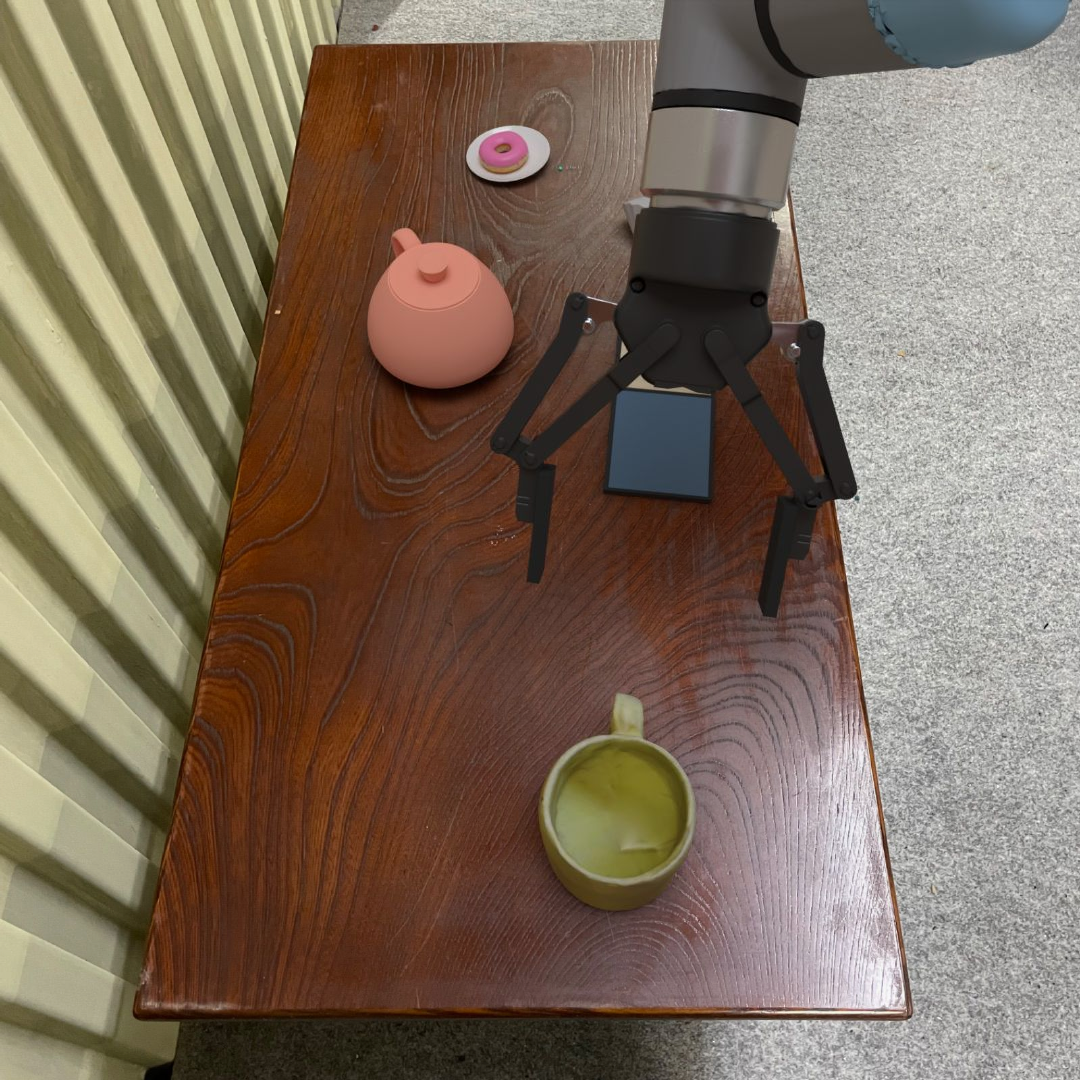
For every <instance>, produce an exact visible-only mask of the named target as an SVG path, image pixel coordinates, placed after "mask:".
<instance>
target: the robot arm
mask: <svg viewBox="0 0 1080 1080" xmlns="http://www.w3.org/2000/svg"><path fill="white" fill-rule="evenodd" d="M1072 2H1073V0H664V2H663V11H662V18H661V27H660V34H659V42H658V51H657V56H656V65H655V66H656V67H655V75H654V80H653V81H654V83H653V90H652V102H651V108H650V112H649V115H648V123H647V130H646V138H645V145H644V146H645V147H644V153H643V159H642V160H643V161H642V168H641V175H640V183H639V189H638V190H639V192H640V193H641V194H642V196H644V197H647V198H650V203H649V208H642V209H641V211H640V214H636V220H635V227H634V235H633V234H632V244H631V249H630V250H631V251H630V257H629V258H630V259H629V264H628V265H629V266H628V274H627V281H626V285H625V290H624V293H623V295H622V297H621V299H619V301H618V302H614V301H610V300H606V299H601V298H598V297H593V296H590V295H588V293H586V292H585V291H583V290H577V291H574V292H572V293H570V294H568V296H567V297H566V299H565V302H564V307H563V312H562V315H561V319H560V324H559V329H558V333H557V334H556V336H555V337H554V338H553V340H552V342H551V344H550V345H549V346H548V348H547V350H546V351H545V353H544V354H543V356H542V357H541V359H540V361H539V362H538V364H537V365H536V367H535V368H534V370H533V371H532V373H531V374H530V376H529V378H528V379H527V381H526V382H525V384H524V385H523V387H522V389H521V390H520V391H519V394H518V395H517V397H516V398H515V399H514V401H513V402H512V404H511V406H510V408H509V409H508V411H507V412H506V413H505V415H504V416H503V419H502V420H501V422H500V423H499V425H498V426H497V427H496V429H495V431H494V433H493V434H492V436H490V440H489V447H490V449H491V451H492V452H494V453H495V454H497V455H504V456H505V457H507V458H509V459H511V460H513V461H514V462H515V463H516V465H517V467H518V482H517V491H516V499H515V510H514V513H515V517H516V520H517V522H521V523H528V524H532V527H531V528H532V530H531V537H530V547H529V556H528V564H527V573H526V581H525V582H526V583H529V584H537V585H539V584H540V583H541V580H542V577H543V574H544V571H545V567H546V558H547V557H546V556H547V549H548V541H549V540H548V539H549V534H550V533H549V531H550V525H551V515H552V509H553V498H554V493H555V483H556V475H557V468H558V467H557V466H558V464H553V463H547V462H546V463H545V461H546V460H548V459H549V458H550V457H551V456H552V455H553V454H554V453H555V452H556V451H558V449H560V448H561V447H562V446H563V445H564V444H565V443H566V442H567V441H568V440H569V439H571V438H572V437H573V436H574V435H575V434H576V433H577V432H578V431H579V430H581V429H582V428H583V427H584V426H585V425H586V424H587V423H589V421H591V420H592V418H594V417H595V416H596V415H597V414H598V413H599V412H601V410H603V409H604V408H605V407H606V406H607V405H608V404H610V402H612V399H613V398H615V397H616V396H617V395H618V394H619V393H620V392H621V391H623V390H624V389H625V388H626V387H628V386H629V385H630V384H631V383H632V382H633V381H634V380H635V379H636V378H638V377H639V376H640V375H641V377H642V378H643V379H644V380H645V381H646V382H648V383H649V384H651V385H654V387H655V388H663V389H672V388H679V387H684V388H687V389H689V390H692V391H694V392H696V393H703V394H711V393H713V392H716V393H717V392H719V391H722V390H724V389H726V387H728V388H729V389H730V390H731V392H732V394H733V395H734V397H735V398H736V400H737V401H738V404H739V405H740V406H741V408H742V410H743V411H744V413H745V415H746V416H747V418H748V420H749V421H750V423H751V424H752V426H753V428H754V429H755V431H756V432H757V434H758V436H759V438H760V439H761V441H762V442H763V445H764V446H765V448H766V449H767V450H768V452H769V454H770V455H771V457H772V459H773V460H774V462H775V464H776V465H777V467H778V468H779V470H780V472H781V473H782V475H783V476H784V479H785V480H786V481H787V483H788V485H789V486H790V488H791V490H792V495H785V494H784V495H783V494H777V498H776V503H775V508H774V514H773V519H772V524H771V530H770V534H769V540H768V545H767V550H766V555H765V561H764V565H763V571H762V576H761V582H760V587H759V591H758V598H757V602H758V605H759V608H760V611H761V614H762V616H763V617H767V618H772V619H777V617H778V613H779V607H780V604H781V603H780V602H781V598H782V592H783V587H784V582H785V577H786V572H787V567H788V562H789V560H795V561H796V560H797V561H802V562H803V561H804V560H805V559H806V557H807V556H808V554H809V552H810V547H811V541H812V538H813V532H814V528H815V523H816V518H817V513H818V511H819V510H820V508H822V507H823V505H824V504H826V503H827V502H832V501H837V500H842V501H849V500H851V499H854V498H855V497H856V495H857V494H858V483H857V480H856V476H855V473H854V470H853V466H852V462H851V459H850V455H849V452H848V448H847V445H846V441H845V438H844V435H843V431H842V428H841V424H840V420H839V417H838V414H837V410H836V407H835V403H834V399H833V396H832V393H831V389H830V386H829V381H828V379H827V375H826V371H825V368H824V356H825V355H824V354H825V353H824V352H825V342H826V341H825V340H826V327H825V326H824V324H823V323H822V322H820V321H819V320H816V319H813V318H808V317H806V318H802V319H800V320H799V321H772V319H771V317H770V314H769V299H770V294H771V293H770V291H771V287H772V280H773V275H774V269H775V264H776V258H777V253H778V247H779V243H780V242H779V241H780V236H781V231H782V230H781V229H780V228H778V223H777V222H776V221H775V222H774V221H773V217H772V214H773V213H774V212H779V211H780V210H782V209H783V208H784V207H786V203H787V199H788V191H789V186H790V179H791V175H792V167H793V162H794V155H795V150H796V144H797V138H798V133H799V127H800V123H801V117H802V111H803V105H804V102H805V101H804V100H805V96H806V90H807V86H808V81H809V80H813V79H824V78H830V77H831V78H832V77H841V76H851V75H862V74H863V75H864V74H873V73H885V72H893V71H905V70H915V69H925V68H926V69H927V68H928V69H931V70H941V69H943V68H947V69H958V68H963V67H968V66H972V65H973V64H974V63H976V62H978V61H983V60H988V59H992V58H997V57H1002V56H1008V55H1014V54H1018V53H1022V52H1023V51H1026V50H1029V49H1032V48H1033V47H1035V46H1037V45H1039V44H1040V43H1042V42H1043V41H1045V40H1046V39H1047V38H1049V37H1050V36H1051V35H1052V34H1053V33H1054V32H1055V31H1056V30H1057V29H1058V28H1059V27H1060V26H1061V25H1062V24H1063V23H1064V22H1065V19H1066V17H1067V14H1068V11H1069V6H1070V3H1072ZM608 322H609V323H613V326H614V328H615V330H616V332H617V335H618V334H619V336H620V338H621V340H622V342H623V343H624V345H625V347H626V349H627V351H628V352H627V353H626V354H625V355H624V356H622V357H621V358H620V359H619V360H618V361H617V362H616V363H615V362H614V363H613V365H612V366H610V367H609V368H608V369H607V371H605V373H603V374H602V375H601V376H600V377H599V378H598V379H597V380H596V381H595V382H594V383H593V384H591V385H590V386H589V387H588V388H587V389H586V390H585V391H584V392H583V393H582V394H581V395H579V396H578V397H577V398H576V399H575V400H574V401H573V402H572V403H571V404H569V406H567V408H565V409H564V410H563V411H562V412H561V413H560V414H559V415H558V416H557V417H555V418H554V420H552V421H551V422H550V423H549V424H548V425H547V426H546V427H544V428H543V430H542V431H541V432H539V434H537V435H535V437H534V438H533V439H531V438H529V437H527V436H525V435H523V434H522V432H523V431H524V429H525V427H527V424H528V423H529V422H530V420H531V418H532V417H533V415H534V414H535V412H536V411H537V409H538V408H539V406H540V405H541V403H542V402H543V400H544V398H545V397H546V395H547V394H548V393H549V391H550V389H551V387H552V386H553V384H554V383H555V382H556V380H557V378H558V377H559V375H560V374H561V373H562V370H563V369H564V367H565V366H566V364H567V363H568V362H569V360H570V358H571V356H572V355H573V354H574V352H575V350H576V349H577V348H578V345H580V342H581V340H582V337H592V336H594V335H595V334H596V333H598V331H599V329H600V328H601V326H602V325H603V324H605V323H608ZM770 342H772V343H775V344H777V345H778V347H779V351H780V355H781V356H782V357H783V358H784V359H785V360H786V361H788V362H790V363H793V370H794V371H793V372H794V374H795V375H794V376H795V378H796V381H797V385H798V389H799V392H800V395H801V399H802V402H803V406H804V409H805V413H806V417H807V420H808V422H809V426H810V430H811V433H812V437H813V439H814V443H815V447H816V450H817V454H818V456H819V461H820V463H821V467H822V471H823V474H819V475H814V476H812V474H811V472H810V471H809V470H808V468H807V466H806V464H805V463H804V461H803V460H802V458H801V456H800V454H799V453H798V451H797V449H796V448H795V446H794V445H793V443H792V441H791V440H790V438H789V436H788V435H787V433H786V432H785V430H784V428H783V427H782V425H781V423H780V422H779V420H778V418H777V417H776V415H775V414H774V412H773V410H772V409H771V407H770V405H769V404H768V402H767V401H766V399H765V397H764V395H763V394H762V392H761V390H760V389H759V387H758V385H757V384H756V382H755V380H754V378H753V377H752V375H751V373H750V372H749V370H748V369H747V367H749V365H750V364H751V363H752V362H753V361H754V360H755V359H756V358H757V357H758V356H759V355H760V354H761V353H762V352H763V351H764V349H766V347H768V345H769V344H770Z"/></svg>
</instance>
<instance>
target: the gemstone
mask: <svg viewBox="0 0 1080 1080" xmlns="http://www.w3.org/2000/svg"><path fill="white" fill-rule="evenodd" d="M649 203H650V198H647V197H644V195H642V196H639V197H637V198H634V199H631V200H628V201H626V202H623V203H622V205H621V206H622V209H623V212H624V214H625V216H626V220H627V222H628V225H629V228H630V230H631V233H632V236H633V235H634V227H635V220H636V214H640V211H641V209H642V208H649Z"/></svg>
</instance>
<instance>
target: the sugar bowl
mask: <svg viewBox="0 0 1080 1080" xmlns="http://www.w3.org/2000/svg"><path fill="white" fill-rule="evenodd" d="M391 245H392V249H393V253H394V255H395V259H394V260H393V261H392V262H391V263H390V264H389V266H388V267H387V268H386V269H385V271H384V272H383V274H382V275H381V277H380V278H379V281H378V282H377V284H376V286H375V287H374V289H373V292H372V295H371V298H370V302H369V306H368V311H367V321H366V322H367V323H366V324H367V325H366V326H367V327H366V328H367V337H368V342H369V346H370V349H371V351H372V353H373V355H374V357H375V359H376V360H377V361H378V362H379V364H380V365H381V366H382V367H383V368H384V369H385V370H386V371H387V372H389V374H391V375H392V376H394V377H396V378H397V379H398V380H400V381H403V382H404V383H407V384H410V385H414V386H416V387H420V388H426V389H450V388H456V387H461V386H465V385H467V384H469V383H473V382H475V381H477V380H478V379H480V378H482V377H484V376H485V375H487V374H489V373H490V372H491V371H493V370H494V369H495V368H496V367H497V366H498V365H499V364H500V363H501V362H502V361H503V360H504V358H505V356H506V355H507V353H508V351H509V350H510V347H511V345H512V342H513V338H514V333H515V320H514V314H513V309H512V306H511V303H510V299H509V297H508V295H507V293H506V290H505V289H504V287H503V285H502V284H501V282H500V280H499V279H498V278H497V277H496V275H495V274H494V272H492V271H491V269H490V268H489V267H487V266H486V265H485V263H484V262H482V261H481V260H480V259H478V258H477V257H476V256H475V255H474V254H472V253H471V252H470V251H468V250H466V249H465V248H462V247H460V246H459V245H455V244H452V243H447V242H439V241H437V242H427V243H422V242H421V240H420V239H419V237H418V236H417V234H416V233H415V232H414V231H413V230H412V229H411V228H408V227H402V228H399V229H396V230H395V231H393V233H392V235H391Z"/></svg>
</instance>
